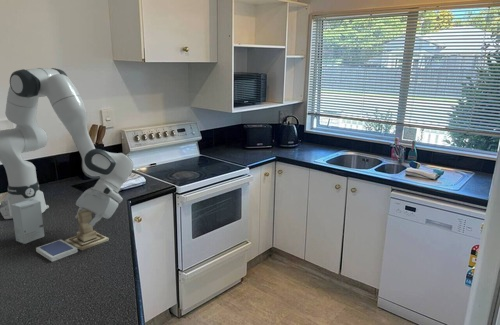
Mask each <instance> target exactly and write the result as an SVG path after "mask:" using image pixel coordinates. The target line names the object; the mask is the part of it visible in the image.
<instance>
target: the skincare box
mask: <svg viewBox="0 0 500 325" xmlns="http://www.w3.org/2000/svg"><path fill="white" fill-rule="evenodd" d="M11 207H12V214H13V218H12V219H13V220H12V221H13V226H14V228H13V230H14V236H15V241H16V242H18V243H20V244H24V245H26V244H28V243H29V244H30V243H31V242H33V241H36V240H39V239H41V238H42V239H43V238H44V237H45V230H44V223H43V222H44V219H43V213H42V211H41V203H40V201H37V200H27V201H23V202H19V203H16V204H12V205H11Z"/></svg>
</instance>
